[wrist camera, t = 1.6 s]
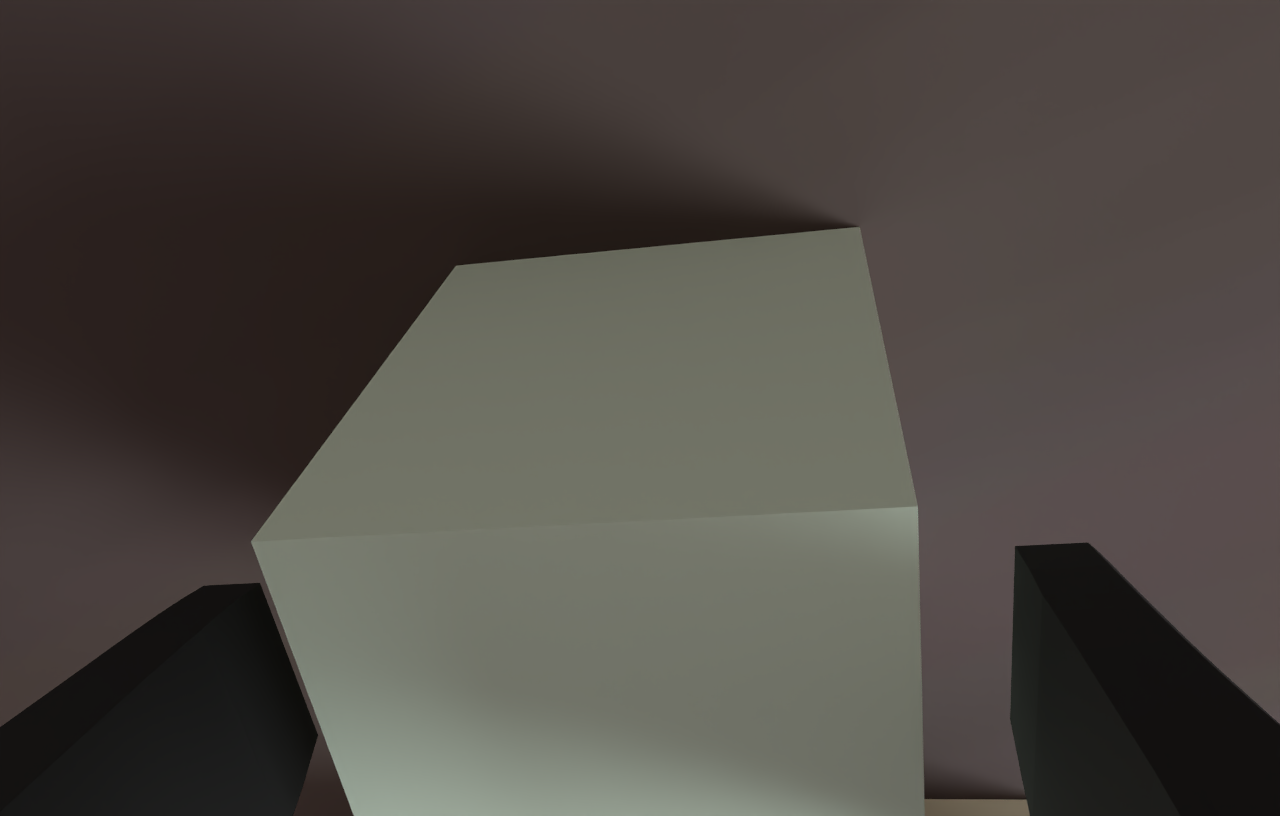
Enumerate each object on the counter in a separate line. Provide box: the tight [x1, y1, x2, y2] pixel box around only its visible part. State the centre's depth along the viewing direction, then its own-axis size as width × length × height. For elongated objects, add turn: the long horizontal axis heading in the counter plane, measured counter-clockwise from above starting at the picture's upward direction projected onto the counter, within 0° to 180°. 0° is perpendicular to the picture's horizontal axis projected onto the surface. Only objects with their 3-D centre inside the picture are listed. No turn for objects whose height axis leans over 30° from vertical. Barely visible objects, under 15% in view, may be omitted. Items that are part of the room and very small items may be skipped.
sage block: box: [251, 227, 925, 816], centre depth 12 cm, size 5×5×6 cm
